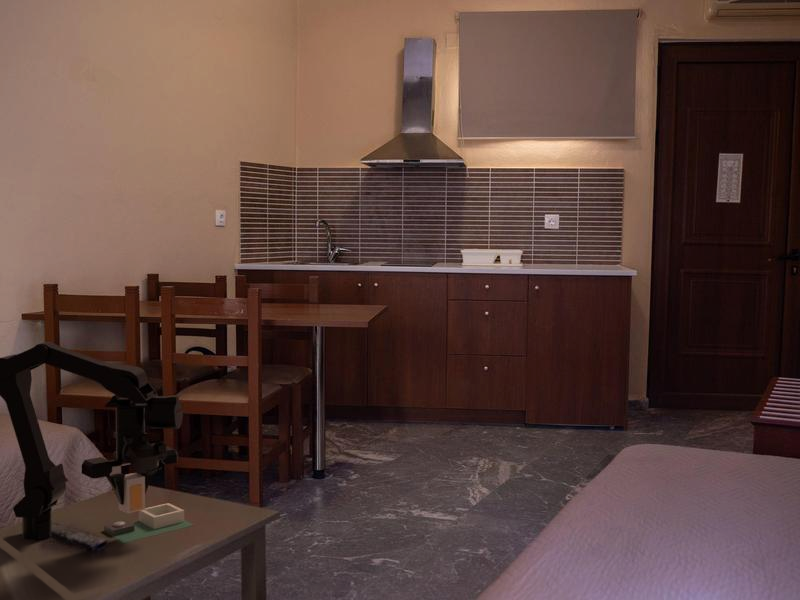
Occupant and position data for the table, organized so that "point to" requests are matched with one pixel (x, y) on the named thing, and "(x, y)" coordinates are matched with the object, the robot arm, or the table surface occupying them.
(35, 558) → the table surface
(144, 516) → the header board
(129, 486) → the plug
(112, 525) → the push button
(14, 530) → the table surface
